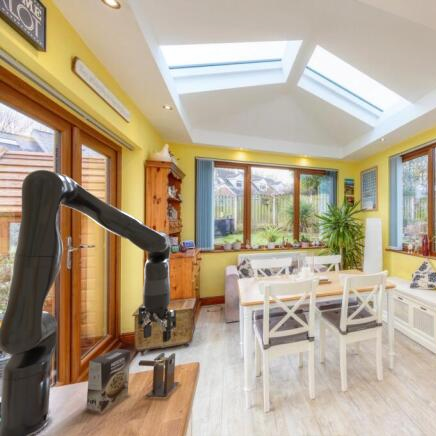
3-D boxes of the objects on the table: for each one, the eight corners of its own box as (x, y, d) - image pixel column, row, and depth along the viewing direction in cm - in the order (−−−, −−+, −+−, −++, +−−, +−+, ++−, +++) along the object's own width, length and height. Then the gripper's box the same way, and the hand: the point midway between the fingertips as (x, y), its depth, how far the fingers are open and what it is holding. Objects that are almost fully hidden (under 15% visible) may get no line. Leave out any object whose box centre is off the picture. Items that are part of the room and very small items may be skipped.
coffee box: (101, 415, 82) (104, 363, 82) (85, 411, 83) (88, 360, 83) (129, 396, 90) (131, 350, 91) (114, 393, 92) (116, 347, 92)
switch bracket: (165, 399, 90) (167, 362, 90) (145, 398, 90) (147, 361, 90) (179, 385, 98) (180, 351, 98) (160, 384, 98) (162, 350, 98)
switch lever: (152, 368, 83) (155, 359, 84) (137, 367, 83) (139, 358, 84) (172, 365, 94) (174, 357, 95) (159, 364, 94) (161, 356, 95)
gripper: (130, 292, 86) (130, 341, 86) (162, 296, 81) (162, 348, 81) (152, 286, 93) (152, 331, 93) (183, 290, 88) (182, 337, 88)
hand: (157, 339), depth 87 cm, fingers open, 8 cm apart
